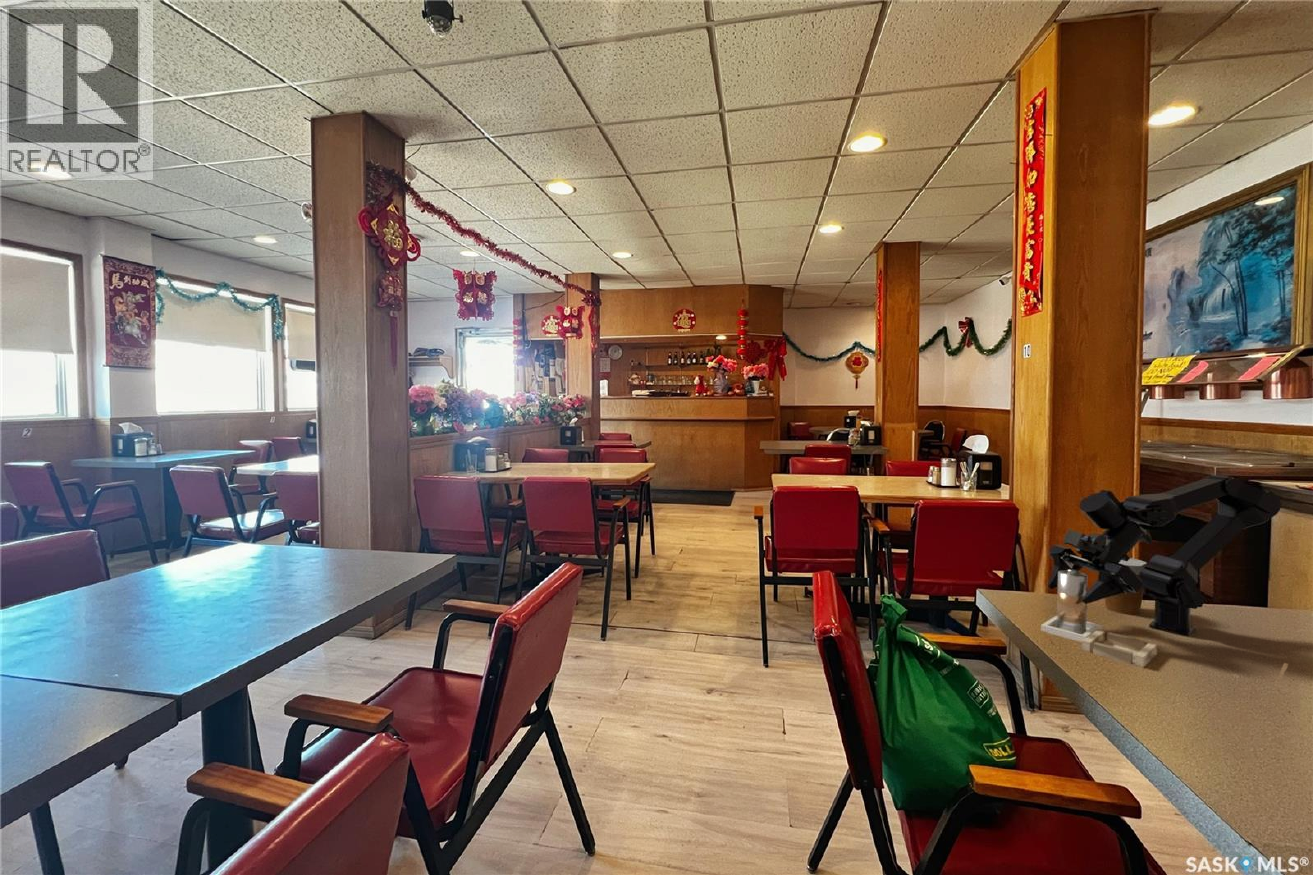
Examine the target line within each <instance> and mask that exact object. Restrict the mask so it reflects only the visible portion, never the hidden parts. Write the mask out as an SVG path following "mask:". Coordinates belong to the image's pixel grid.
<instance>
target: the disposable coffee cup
mask: <svg viewBox="0 0 1313 875" xmlns="http://www.w3.org/2000/svg"><path fill="white" fill-rule="evenodd" d="M1119 563H1120V564H1123V565H1126V566H1129V567H1130V568H1131V569H1132V570H1133V571H1134V572H1135V574H1136V575H1137V576H1138V577H1139V578H1140V575H1139V574H1140V572H1141V570H1142V569H1143V568H1144V567H1143V565H1144V564H1146V563H1147V562H1146V561H1143V560H1141V559H1136V558H1131V557H1130V559H1129V560H1128V561H1123V560H1121V561H1120V562H1119ZM1144 594H1145V593H1144V590H1143V587H1141V588H1140V590H1139V591H1138V592H1137V593H1134V592H1131V591H1129V593H1128V594H1126V593H1122V594H1118V595H1114V596H1110V597H1107V598H1104V603H1105V608H1107V609H1108V610H1110V611H1111V612H1117V613H1120V614H1125V615H1126V614H1127V615H1138V614H1140V613H1141V608H1142V603H1143V598H1144Z"/></svg>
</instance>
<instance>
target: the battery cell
mask: <svg viewBox="0 0 1313 875" xmlns="http://www.w3.org/2000/svg"><path fill="white" fill-rule="evenodd" d="M1087 592H1088V574H1086V573H1084V572H1081V571H1079V570H1075V569H1067V570H1060V571H1058V587H1057V592H1056V595H1057V597H1056V616H1057V628H1059V629H1063V630H1067V631H1070V632H1074V633H1078V634H1082V635H1083V634H1084V633H1085V632H1086V622H1088V621H1087V619H1088V611H1087V610H1088V604H1085V603H1084V602H1083V601H1082V599H1083V597H1084V596H1085V594H1086V593H1087Z"/></svg>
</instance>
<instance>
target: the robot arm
mask: <svg viewBox="0 0 1313 875" xmlns="http://www.w3.org/2000/svg"><path fill="white" fill-rule="evenodd" d="M1214 500H1216V501H1218V502H1217V503H1218V505H1217V508H1218V510H1217V514H1216V515H1215V516H1214V517H1213V518H1212V519H1211V520H1209V521H1208V522H1207V523H1206V524H1205V525H1204V526H1203V527H1202V528H1201V529H1200V530H1198V531H1197V532H1196V533H1195V534H1194V536H1192V537H1191V538H1190V539H1188V541H1186V543H1184V544H1183V545H1182V546H1181V547H1180V548H1179V549H1177V551H1176V552H1175V553H1173V554H1171V555H1170V556H1165V555H1161V554H1154V555H1153V556H1152V557H1151V559H1150V560H1148V562H1146V564H1144V565H1143V567H1144V568H1143V569H1142V570H1141V572H1140V574H1139V575H1140V578H1139V577H1138V576H1137V575H1136V574H1135V572H1134V571H1133V570H1132V569H1131V568H1130V567H1129V566H1126V565H1123V564H1120V563H1119V562H1120V561H1121V560H1123V561H1128V560H1129V559H1130V558H1131V557H1130V556H1129V555H1128V553H1130V552H1131V551H1132V549H1133V548H1134V547H1135V546H1136V545H1137V544H1138V543H1139V542H1142V543H1147V544H1151V543H1153V541H1152V536H1151V531H1150V530H1148V529H1146V528H1145V529H1144V528H1143V527H1141V525H1146V526H1150V527H1156V528H1158V527H1162V526H1165V525H1166V524H1168V523H1170V522H1171V521H1173V520H1175V519H1176V518H1177V515H1178V514H1179V513H1180V512H1183V511H1185V510H1186V511H1187V510H1188V509H1191V508H1193V507H1197V506H1200V505H1202V504H1206V503H1209V502H1212V501H1214ZM1078 507H1079V509H1080V510H1081V511H1082V513H1084V515H1086V517H1087V518H1088V519H1089V520H1090V521H1091V522H1092V523H1093V524H1094V525H1095V526H1096V527H1097V528H1099V529H1101V530H1103V532H1102V533H1101V534H1099V533H1094V532H1093V533H1092V534H1090V535H1089V534H1085V533H1083V532H1079V531H1075V530H1073V529H1068V530H1067V532H1066V534H1065V537H1064V538H1063V541H1062V543H1063V544H1065V545H1068V546H1072V547H1073V548H1076V549H1075V552H1074V550H1072V548H1070V547H1067V546H1064V545H1060V544H1053V545H1052V546H1051V547H1050V548H1049V549H1048V550H1047V552H1048V554H1049V555H1050V558H1051V559H1052V561H1053V569H1052V572H1051V575H1050V577H1049V580H1048V583H1047V588H1049V590H1054V589H1056V588H1058V571H1060V570H1067V569H1075V570H1078V571H1080V570H1081V569H1082V568H1083V569H1087V570H1088V571H1089V570H1090V571H1091V572H1092V571H1093V572H1096V573H1098V576H1097V577H1098V578H1097V580H1096V581H1095V582H1094V584H1093V585H1092V586H1091V587H1090V588H1089V589H1088V590H1087V593H1086V594H1085V596H1084V597H1083V599H1082V601H1083V602H1084V603H1085V604H1087V605H1088V604H1091V603H1093V602H1097V601H1100V600H1103V599H1105V598H1107V597H1110V596H1114V595H1118V594H1122V593H1126V594H1128V593H1129V591H1131V592H1134V593H1137V592H1138V591H1139V590H1140V588H1141V587H1143V590H1144V593H1143V594H1144V595H1145V596H1147V597H1151V598H1154V620H1152V621H1151V622H1150V623H1149V624H1148V627H1149V628H1152V629H1157V630H1161V631H1165V632H1169V633H1173V634H1178V635H1182V636H1188V637H1189V636H1190V635H1191V634H1192V633H1193V632H1194V631H1195V630H1196V627H1195V626H1194V625H1191V610H1192V609H1194V610H1197V609H1198V608H1202V607H1203V605H1204V603H1205V600H1206V597H1205V596H1204V595H1203V594H1202V593H1201V592H1200V591H1199V590H1198V589H1197V588H1196V586H1197V585H1198V584H1199V581H1198V580H1199V578H1198V576H1199V575H1198V574H1199V572H1200V570H1201V569H1202V568H1204V567H1205V566H1206V565H1207V564H1208V563H1209V562H1210V561H1211V560H1212V559H1213V558H1214V557H1215V556H1216V555H1218V554H1219V552H1221V551H1222V550H1223V549H1224V548H1225V547H1226V546H1227V545H1228V544H1229V543H1230V542H1232V540H1234V539H1235V538H1236V537H1238V535H1239V534H1241V533H1242V531H1243V530H1245V529H1247V528H1250V527H1253V526H1257V525H1261V524H1264V523H1266V522H1268V521H1269V520H1271V519H1272V518H1273V517H1275V516H1276V515H1278V513H1280V510H1281V509H1282V502H1281V500H1280V499H1279V497H1278V496H1277V494H1276V493H1274V492H1272V491H1267V490H1264V489H1262V488H1259V487H1255V486H1252V485H1250V484H1248V483H1244V482H1243V481H1241V480H1239V479H1237V478H1235V477H1232V476H1225V475H1214V474H1211V475H1207V476H1205V477H1204V478H1202V479H1199V480H1197V481H1194V482H1191V483H1188V484H1184V485H1181V486H1179V487H1176V488H1174V489H1171V490H1168V491H1164V492H1160V493H1149V494H1147V493H1146V494H1138V495H1131V496H1128V497H1127V498H1125V499H1124V500H1123V501H1119V499H1118V498H1117V497H1116V496H1115V493H1113V492H1112V491H1111V490H1108V489H1101V490H1100V491H1099V492H1096V493H1093V494H1090V495H1087V497H1084V498H1082V500H1081V501H1080V503H1079V505H1078ZM1140 524H1141V525H1140ZM1077 554H1079V555H1080V556H1078V555H1077Z"/></svg>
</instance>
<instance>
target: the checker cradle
mask: <svg viewBox="0 0 1313 875" xmlns="http://www.w3.org/2000/svg"><path fill="white" fill-rule="evenodd" d="M1081 644H1082V646H1081V647H1082V648H1081V651H1082V652H1085V653H1089V654H1092V655H1096V656H1100V657H1103V658H1107V659H1110V660H1114V661H1117V662H1120V663H1124V664H1127V665H1131V666H1135V667H1138V668H1141V669H1144V668H1145V667H1146V666H1147V665H1148V664H1149V663H1150V662H1151V661H1152V660H1153V659H1154V658H1155V657H1156V656H1157V654H1158V644H1157V643H1154V642H1150V641H1149V642H1147V643H1146V640H1143V639H1139V638H1135V637H1130V636H1126V635H1123V634H1120V633H1119V634H1118V633H1114V632H1110V631H1108V632H1106V630H1103V629H1102V630H1099V629H1098V630H1096V631H1095V632H1094V633H1092V634H1091V635H1090V636H1088V637H1087V638H1085V639H1084V640H1083V641H1082V642H1081Z"/></svg>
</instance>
